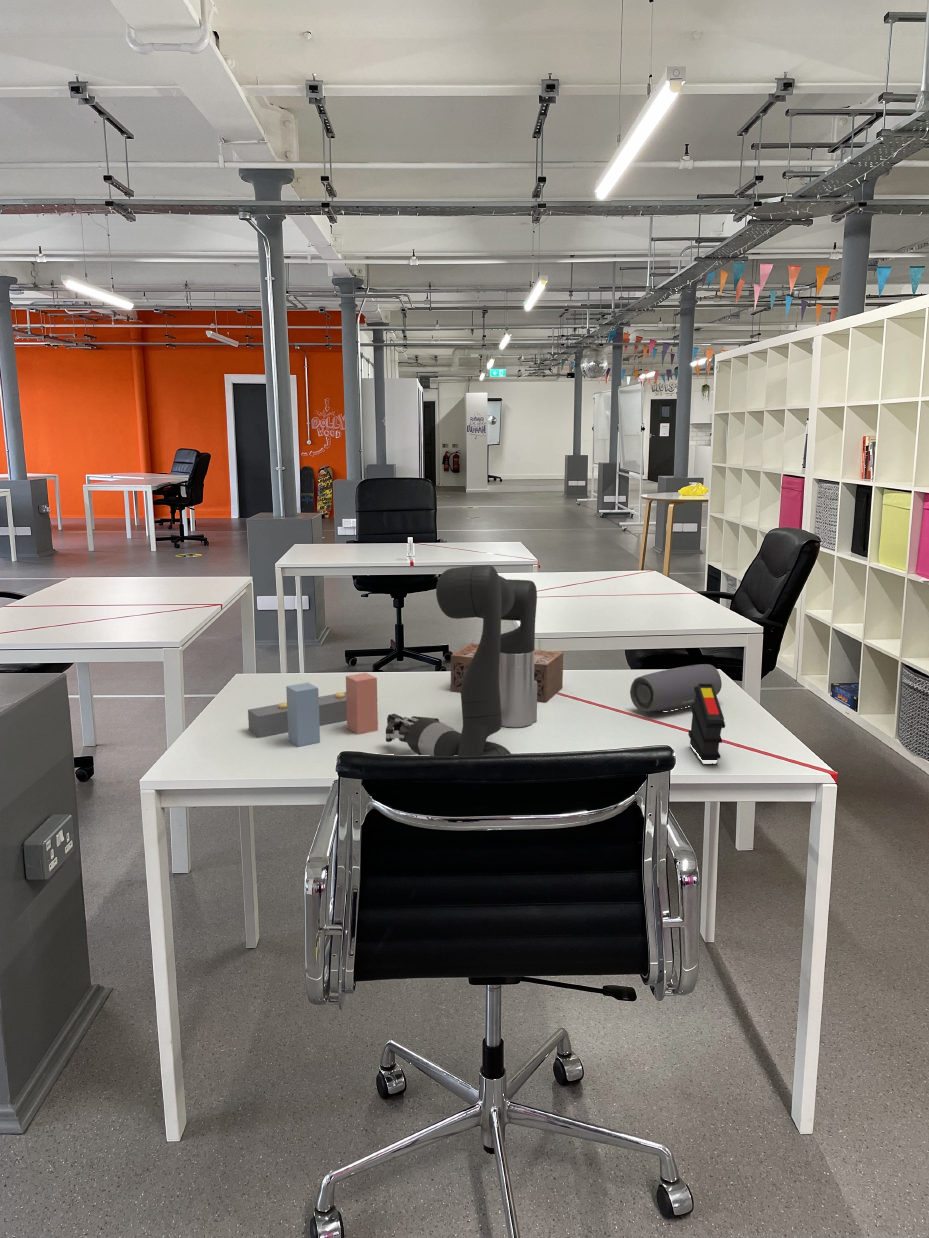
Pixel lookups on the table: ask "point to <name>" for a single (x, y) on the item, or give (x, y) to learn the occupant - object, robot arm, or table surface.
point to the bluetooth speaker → (672, 687)
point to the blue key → (303, 714)
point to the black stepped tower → (706, 722)
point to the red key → (361, 703)
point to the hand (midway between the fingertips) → (390, 718)
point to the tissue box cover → (545, 671)
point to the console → (276, 719)
